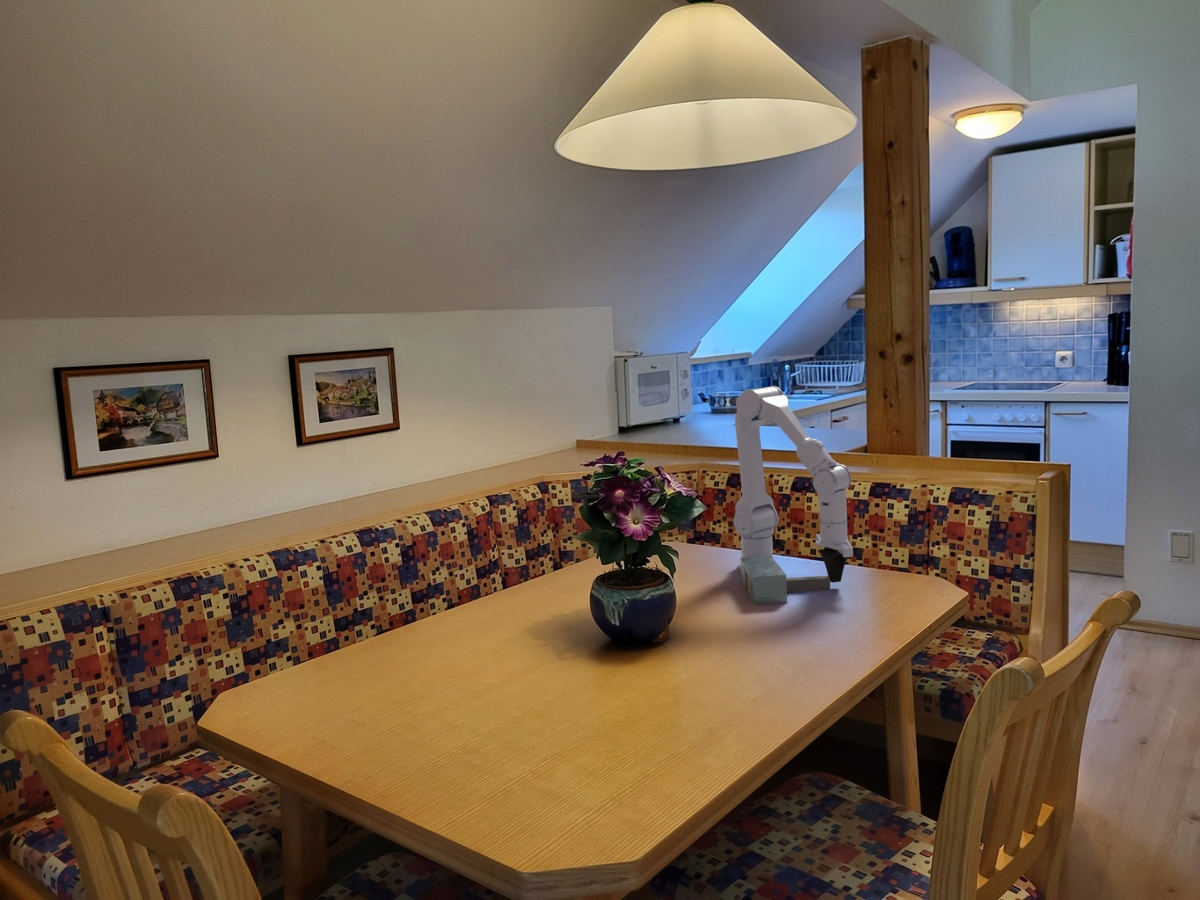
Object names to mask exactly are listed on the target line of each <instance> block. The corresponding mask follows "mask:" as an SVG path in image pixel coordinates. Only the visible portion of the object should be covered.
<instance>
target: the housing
mask: <svg viewBox="0 0 1200 900" xmlns="http://www.w3.org/2000/svg"><path fill="white" fill-rule="evenodd" d="M739 558H740V564H741V570H740V577H741V579H740V580H741V585H742V587H743V589H744V590H745V591H748V584H747V575H748V576H749V592H748V593H750V594H749V598H750V599H751V602H752V603H753V604H754V605H766V604H780V603H784V604H785V603H788V592H787V583H786V578H787V574H786V573H785V571H784V570H783V569H782V567H781V566H780V565H779V564H778V562H777V561H776V560H775V559H774V557H773V558H772V557H771V556H761V557H746V558H742V557H739Z"/></svg>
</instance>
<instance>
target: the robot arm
mask: <svg viewBox="0 0 1200 900" xmlns="http://www.w3.org/2000/svg"><path fill="white" fill-rule="evenodd" d="M735 402H736V403H735V404H736V416H735V420H734V426H735V435H736V445H737V447H736V448H737V455H738V464H739V475H740V484H741V485H740V486H741V492H742V493H741V494H742V495H741V497H740V498H739V500H738V501H737V503H735V506H734V507H735V513H734V517H733V525H734V528H735V530H736V532H737V534H739V537H740V539H741V540H740V552H741V558H746V557H761V556H771V557H772V558H773V559H774V555H773V554H774V553H773V552H774V549H773V534H774V533H775V532H774V529H775V528H776V527H777V525H778V524H779V515H778V512H777V510H776V508H775V505H774V499H773V498H772V497H771V496H769V494H768V493H767V491H766V481H765V471H764V462H763V453H762V451H763V450H762V443H761V432H760V427H762V425H763V424H764V423H765V422H766V421H768V422H769V421H770V422H774V423H775V424H776V425H777V426H778V427H779V428H780V430H781V431H782V432H783V433H784V434H785V435H786V436H787V438H789V440H790V441H791V442H792V443H793V444H794V445H795V447H796V456H797V458H798V459H799V460H800V462H801V463H802V464H803V466H804V467H805V468H806V470H807V471H808V472H809V474H810V475H811V476H812V478H814V480H812V485H813V488H814V490H815V491H816V493H817V500H818V501H819V502H818V504H819V531H820V533H816V534H815V535H816V541H815V546H817V547H824V548H822V549H819V550H818V553H819V555H820V557H821V559H822V560H823V563H824V566H825V569H826V572H827V576H828V577H829V578H830V583H832V584H833V583H840V582H842V578H843V574H844V569H845V566H846V563H847V560H848V559H849V558H852V557H854V548H853V547H852V546H851V543H850V542H849V539H848V516H847V514H848V512H847V510H848V509H847V508H848V507H847V490H848V488H849V487H850V486H851V483H852V474H851V473H850V471H849V469H848V467H847V466H846V465H844V464H841V463H838V462H837V461H836V459H833V457H832V456H831V455H830V454H829V452H828V451H827V449H826V448H825V445H824V443H823V442H822V441H819V439H816V438H811V437H810V436H809V435H808V434H807V431H806V430H805V429H804V427H803V426H802V424H801V422H800V421H799V419H798V418H797V417H796V415H795V413H794V412H793V410H792V409H791V407H790V406H789V398H788V397H787V396H786V395H785V394H784V392H783V391H782V389H781V388H780V387H778V386H776V385H770V386H766V387H761V388H754V389H750V388H749V389H745V390H743V391H742V392H741V393H740V394H739V396H738V397H737V398H736V399H735ZM737 567H738V568H739V570H740V571H741V563H737Z"/></svg>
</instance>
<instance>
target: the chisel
mask: <svg viewBox="0 0 1200 900" xmlns="http://www.w3.org/2000/svg"><path fill="white" fill-rule="evenodd" d="M786 583H787V593H789V592H803V591H805V592H806V591H821V590H831V582H830V578H829V577H828V575H819V576H818V575H816V576H798V577H786ZM747 584H748V590H747V592H748V593H749V576H748V575H747ZM749 595H750V593H749Z"/></svg>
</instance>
